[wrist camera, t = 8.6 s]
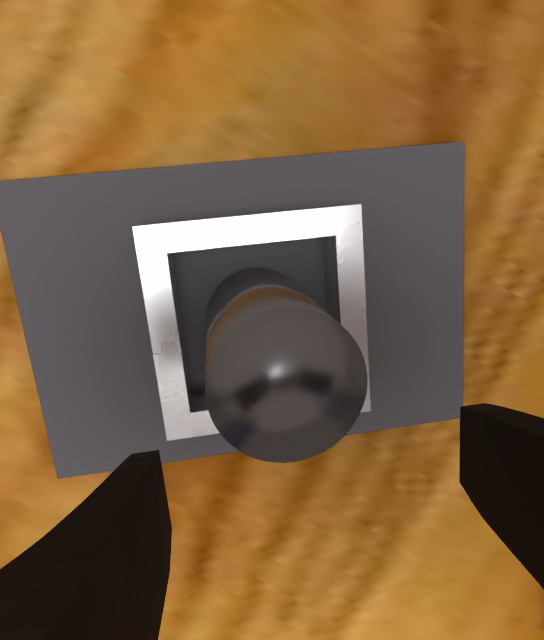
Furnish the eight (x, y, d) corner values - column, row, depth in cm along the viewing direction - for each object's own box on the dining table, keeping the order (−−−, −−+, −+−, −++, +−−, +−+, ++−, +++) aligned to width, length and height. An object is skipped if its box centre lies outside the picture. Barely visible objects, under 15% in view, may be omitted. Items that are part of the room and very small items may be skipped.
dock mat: (459, 142, 19) (464, 141, 19) (458, 413, 22) (462, 417, 21) (-6, 182, 17) (-11, 181, 17) (60, 473, 20) (57, 478, 20)
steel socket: (345, 204, 18) (361, 204, 17) (355, 392, 20) (370, 411, 18) (140, 224, 18) (132, 226, 16) (171, 418, 20) (166, 440, 18)
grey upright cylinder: (300, 262, 19) (363, 298, 11) (307, 356, 20) (371, 449, 12) (201, 273, 18) (194, 318, 11) (213, 368, 19) (215, 473, 12)
